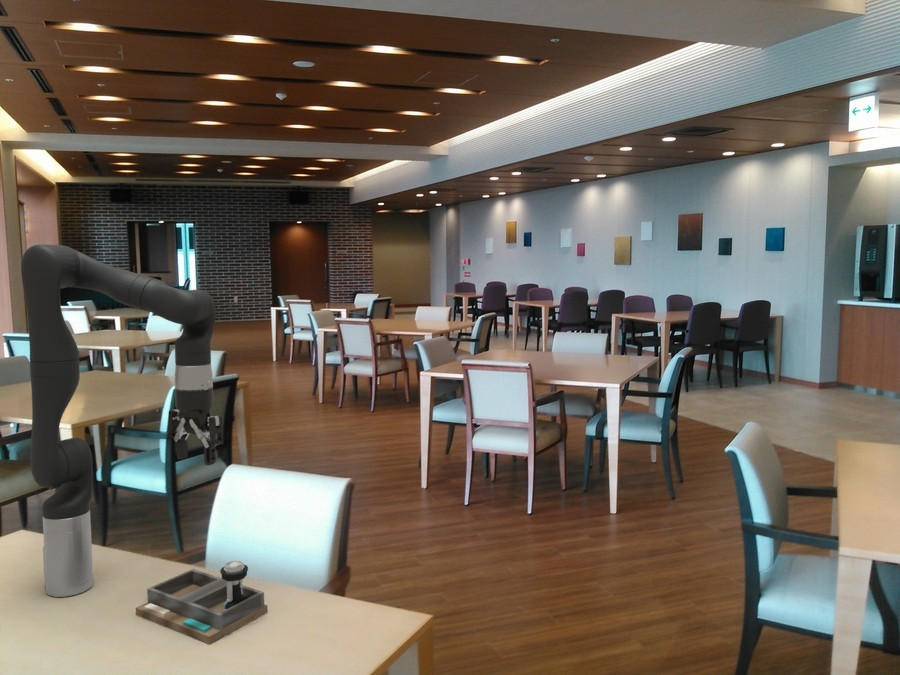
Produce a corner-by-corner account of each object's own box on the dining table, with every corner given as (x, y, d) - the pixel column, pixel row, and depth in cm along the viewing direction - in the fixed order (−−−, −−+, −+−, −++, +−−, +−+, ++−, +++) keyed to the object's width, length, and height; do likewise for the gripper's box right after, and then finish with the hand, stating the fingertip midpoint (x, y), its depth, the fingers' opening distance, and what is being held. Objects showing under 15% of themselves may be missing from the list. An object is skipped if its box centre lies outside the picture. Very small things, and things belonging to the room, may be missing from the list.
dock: (135, 614, 148) (135, 593, 147) (195, 587, 160) (195, 567, 160) (209, 644, 136) (208, 621, 136) (267, 612, 149) (267, 591, 149)
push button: (231, 623, 141) (230, 574, 140) (210, 617, 144) (209, 569, 143) (254, 609, 147) (253, 561, 146) (234, 603, 150) (233, 557, 149)
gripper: (156, 384, 151) (158, 460, 153) (202, 391, 144) (204, 470, 145) (186, 380, 157) (188, 452, 159) (231, 386, 150) (233, 462, 152)
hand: (196, 461), depth 152 cm, fingers open, 8 cm apart
